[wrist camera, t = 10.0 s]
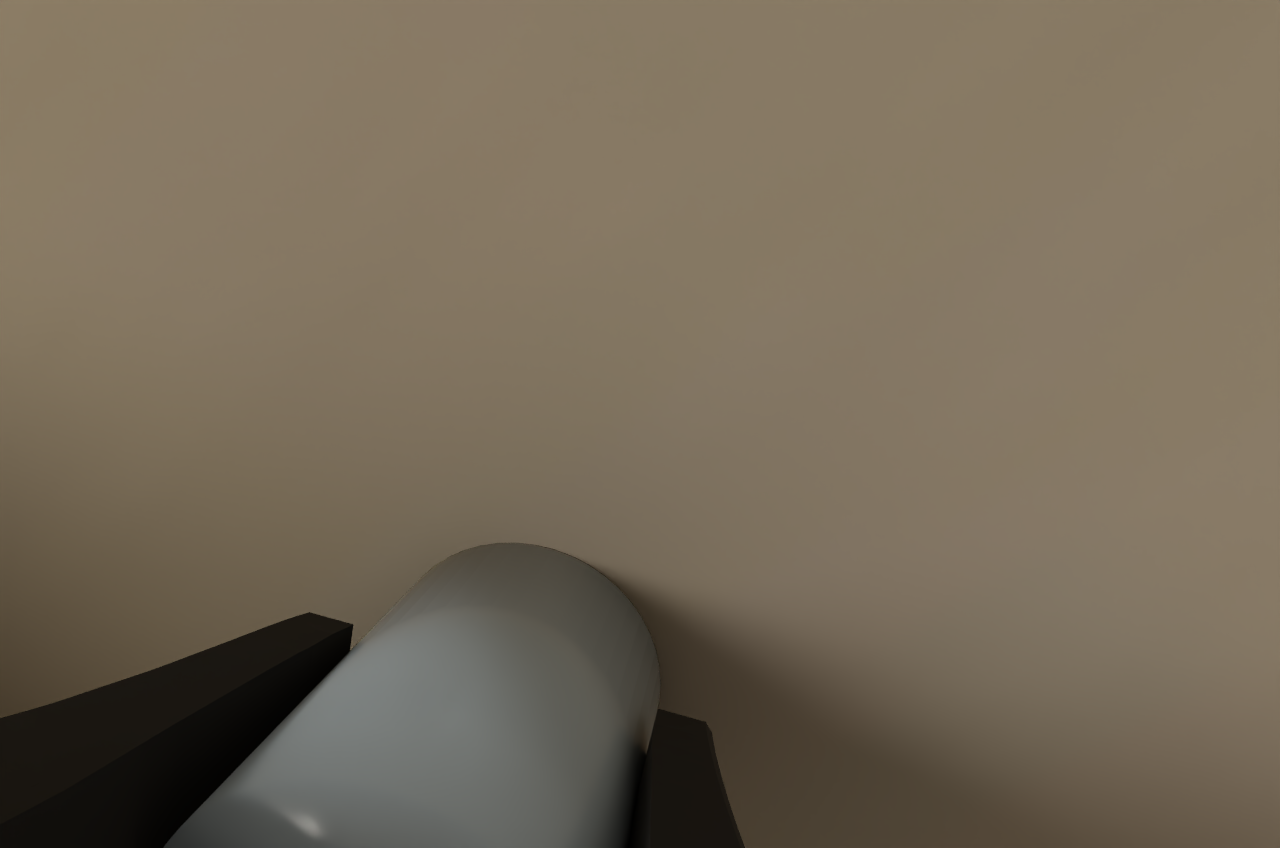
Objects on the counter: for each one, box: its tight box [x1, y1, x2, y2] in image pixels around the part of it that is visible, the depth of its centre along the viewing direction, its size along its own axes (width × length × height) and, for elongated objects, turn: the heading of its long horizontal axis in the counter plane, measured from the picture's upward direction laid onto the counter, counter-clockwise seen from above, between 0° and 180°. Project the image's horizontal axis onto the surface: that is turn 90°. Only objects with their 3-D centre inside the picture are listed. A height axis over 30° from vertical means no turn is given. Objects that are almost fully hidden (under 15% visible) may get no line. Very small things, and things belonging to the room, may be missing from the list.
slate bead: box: [163, 543, 661, 848], centre depth 9 cm, size 4×4×5 cm
